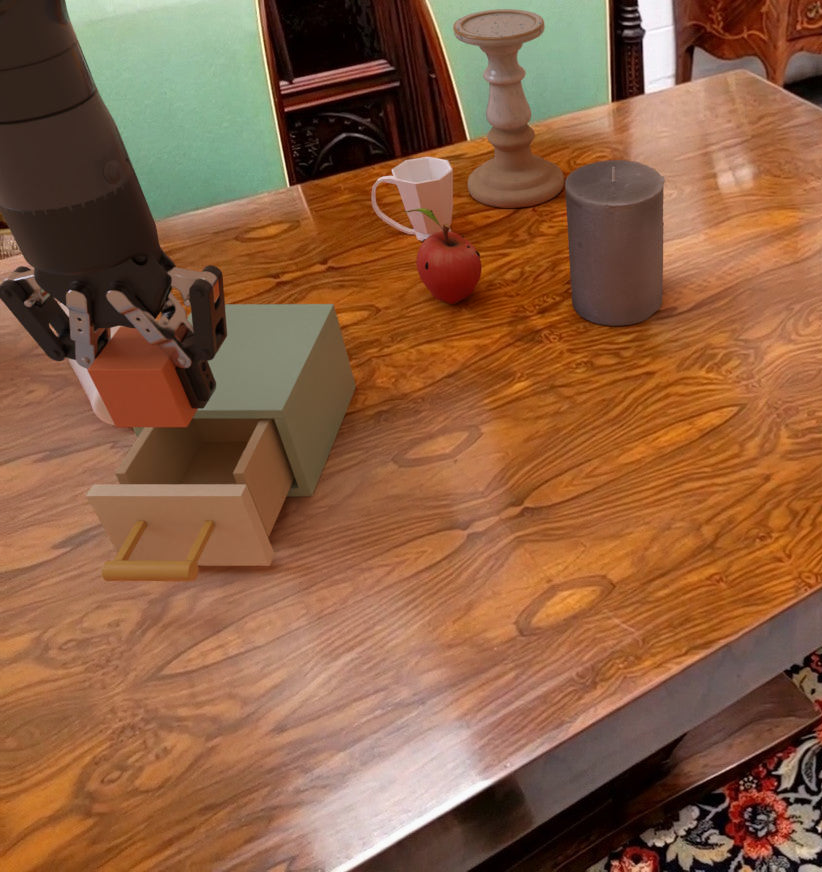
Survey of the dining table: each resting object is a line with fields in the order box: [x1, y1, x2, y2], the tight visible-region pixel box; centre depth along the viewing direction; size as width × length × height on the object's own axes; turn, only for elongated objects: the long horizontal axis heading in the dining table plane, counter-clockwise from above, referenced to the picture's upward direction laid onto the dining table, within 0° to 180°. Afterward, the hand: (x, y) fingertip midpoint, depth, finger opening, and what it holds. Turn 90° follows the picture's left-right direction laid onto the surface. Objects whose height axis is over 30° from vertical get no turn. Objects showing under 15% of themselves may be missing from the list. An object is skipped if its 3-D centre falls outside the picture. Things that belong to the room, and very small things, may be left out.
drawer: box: [85, 419, 295, 582], centre depth 71 cm, size 19×11×7 cm, turn 179°
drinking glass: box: [55, 302, 123, 427], centre depth 87 cm, size 7×7×15 cm
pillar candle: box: [564, 159, 666, 327], centre depth 94 cm, size 10×10×15 cm
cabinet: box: [132, 303, 357, 497], centre depth 80 cm, size 15×12×9 cm
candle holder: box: [452, 8, 565, 209], centre depth 113 cm, size 12×12×20 cm
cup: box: [370, 156, 454, 242], centre depth 108 cm, size 7×10×8 cm
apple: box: [402, 208, 482, 305], centre depth 97 cm, size 8×7×10 cm
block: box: [87, 327, 198, 428], centre depth 65 cm, size 5×5×5 cm
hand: (163, 400), depth 66 cm, fingers closed on block, 5 cm apart
